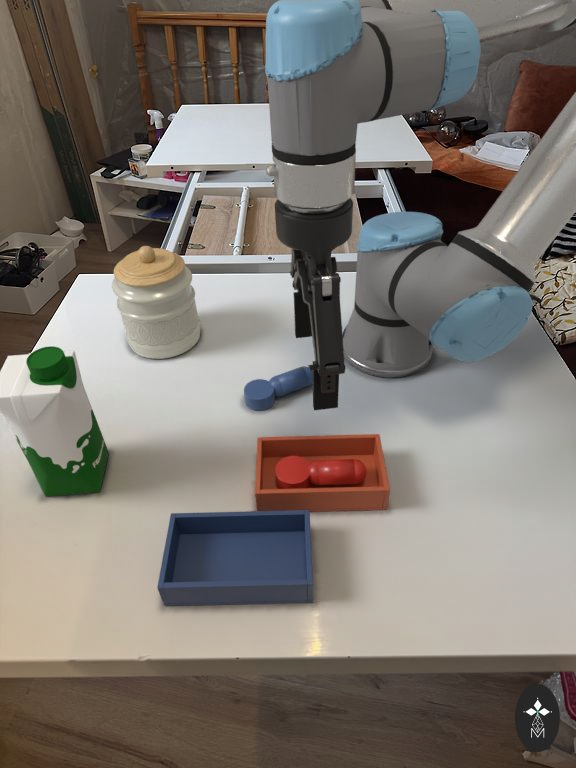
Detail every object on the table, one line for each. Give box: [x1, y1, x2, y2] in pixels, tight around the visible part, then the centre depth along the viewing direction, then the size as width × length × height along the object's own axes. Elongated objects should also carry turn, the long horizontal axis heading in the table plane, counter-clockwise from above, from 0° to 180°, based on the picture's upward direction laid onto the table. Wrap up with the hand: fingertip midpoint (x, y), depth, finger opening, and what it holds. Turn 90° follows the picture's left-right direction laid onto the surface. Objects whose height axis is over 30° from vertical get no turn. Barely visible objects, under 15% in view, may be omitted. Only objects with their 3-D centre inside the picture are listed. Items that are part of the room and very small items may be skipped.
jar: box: [111, 245, 202, 360], centre depth 89 cm, size 13×13×18 cm
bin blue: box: [156, 510, 314, 607], centre depth 60 cm, size 16×9×4 cm, turn 91°
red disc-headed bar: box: [275, 456, 366, 489], centre depth 68 cm, size 12×5×3 cm, turn 91°
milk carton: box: [0, 345, 110, 498], centre depth 65 cm, size 9×9×20 cm
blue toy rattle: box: [243, 366, 313, 412], centre depth 82 cm, size 12×5×3 cm, turn 118°
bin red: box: [254, 433, 391, 513], centre depth 68 cm, size 16×9×4 cm, turn 91°
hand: (314, 368), depth 65 cm, fingers open, 13 cm apart
